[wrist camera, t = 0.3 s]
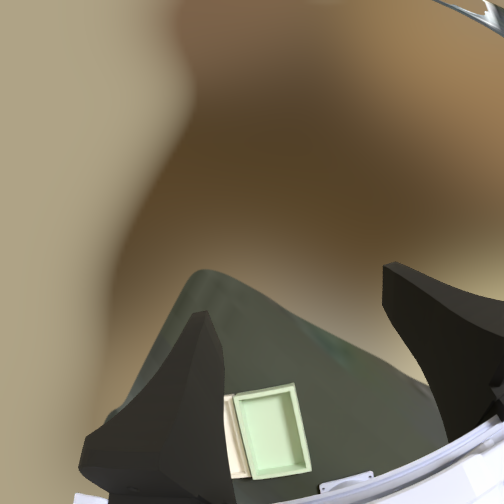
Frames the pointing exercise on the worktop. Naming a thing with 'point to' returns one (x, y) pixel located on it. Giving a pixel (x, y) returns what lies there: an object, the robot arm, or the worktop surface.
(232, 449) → the white tray
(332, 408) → the worktop surface
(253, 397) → the green bin
